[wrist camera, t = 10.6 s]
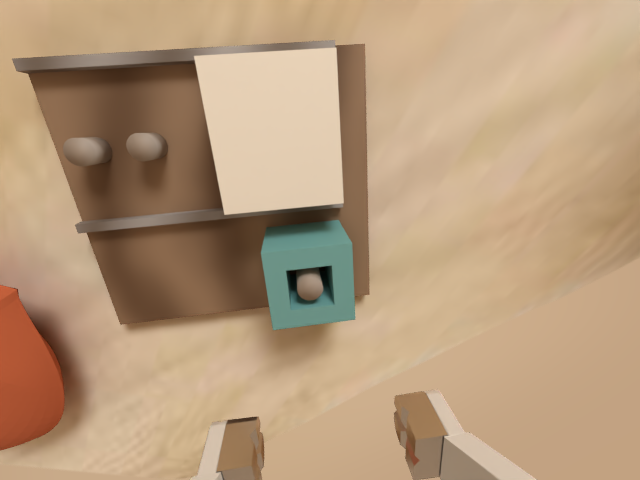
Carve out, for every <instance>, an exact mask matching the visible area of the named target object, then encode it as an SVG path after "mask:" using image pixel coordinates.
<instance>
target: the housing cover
mask: <svg viewBox="0 0 640 480" xmlns="http://www.w3.org/2000/svg"><path fill="white" fill-rule="evenodd" d="M194 59H195V64H196V70H197V75H198V80H199V85H200V90H201V96H202V101H203V106H204V111H205V116H206V121H207V127H208V132H209V137H210V142H211V147H212V153H213V158H214V163H215V168H216V173H217V179H218V184H219V189H220V194H221V199H222V205H223V210H224V215H228V214H238V213H249V212H259V211H269V210H279V209H290V208H300V207H310V206H320V205H331V204H341V203H344V198H343V177H342V155H341V134H340V113H339V92H338V70H337V49H336V48H319V49H302V50H285V51H268V52H251V53H234V54H217V55H201V56H194Z"/></svg>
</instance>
